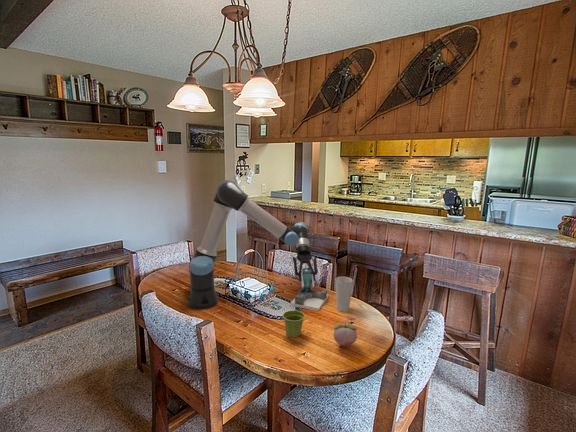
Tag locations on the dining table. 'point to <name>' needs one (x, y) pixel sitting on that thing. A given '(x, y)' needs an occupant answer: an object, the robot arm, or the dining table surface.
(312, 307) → the shaft board
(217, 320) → the dining table surface
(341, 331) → the decorative fruit
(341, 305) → the cup
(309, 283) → the cylinder
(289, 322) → the plant pot
